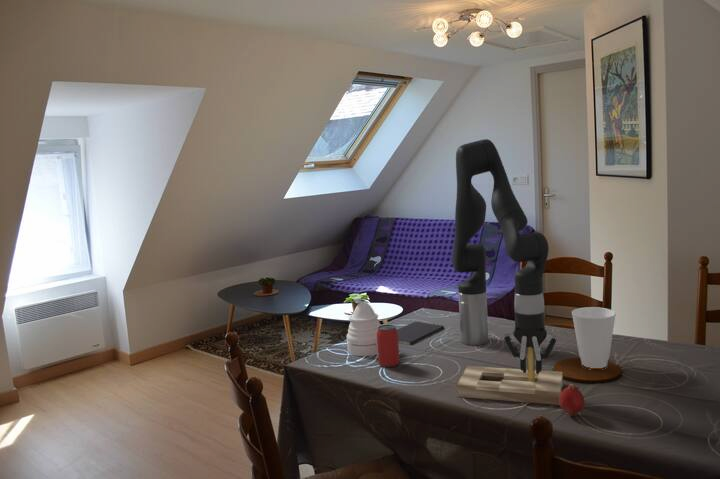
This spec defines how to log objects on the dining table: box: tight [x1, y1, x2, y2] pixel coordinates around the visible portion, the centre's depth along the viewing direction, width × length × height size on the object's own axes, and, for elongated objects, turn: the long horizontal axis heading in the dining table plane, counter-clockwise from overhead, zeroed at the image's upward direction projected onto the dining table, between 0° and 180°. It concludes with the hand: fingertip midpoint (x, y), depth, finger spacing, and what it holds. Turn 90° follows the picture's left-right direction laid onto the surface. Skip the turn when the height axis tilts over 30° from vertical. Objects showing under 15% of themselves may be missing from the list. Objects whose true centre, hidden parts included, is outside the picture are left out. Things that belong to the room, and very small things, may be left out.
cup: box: [571, 306, 616, 368], centre depth 178 cm, size 12×12×16 cm
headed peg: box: [526, 347, 536, 382], centre depth 163 cm, size 4×4×13 cm
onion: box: [559, 383, 585, 417], centre depth 148 cm, size 6×6×8 cm
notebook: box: [396, 321, 445, 346], centre depth 221 cm, size 13×2×21 cm
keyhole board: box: [456, 365, 564, 406], centre depth 165 cm, size 14×26×3 cm, turn 69°
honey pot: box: [346, 296, 382, 357], centre depth 206 cm, size 13×13×18 cm
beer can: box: [377, 324, 400, 368], centre depth 191 cm, size 7×7×12 cm
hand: (531, 372), depth 163 cm, fingers open, 2 cm apart
